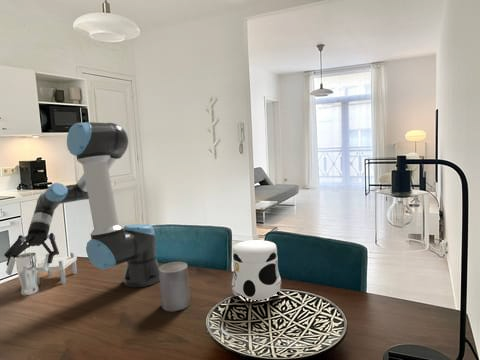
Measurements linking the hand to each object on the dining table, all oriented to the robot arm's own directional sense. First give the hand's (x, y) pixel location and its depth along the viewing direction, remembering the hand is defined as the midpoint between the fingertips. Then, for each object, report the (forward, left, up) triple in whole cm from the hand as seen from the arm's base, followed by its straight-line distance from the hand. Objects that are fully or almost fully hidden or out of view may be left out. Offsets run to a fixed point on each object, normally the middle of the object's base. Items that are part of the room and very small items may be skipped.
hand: (26, 272), depth 137 cm
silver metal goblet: (-1, 0, -8) cm, 8 cm away
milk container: (-89, +17, -8) cm, 91 cm away
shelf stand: (-5, -13, -8) cm, 16 cm away
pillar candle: (-61, +20, -8) cm, 64 cm away
